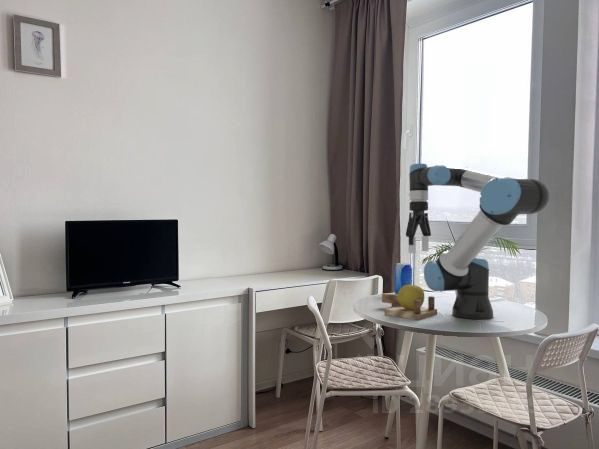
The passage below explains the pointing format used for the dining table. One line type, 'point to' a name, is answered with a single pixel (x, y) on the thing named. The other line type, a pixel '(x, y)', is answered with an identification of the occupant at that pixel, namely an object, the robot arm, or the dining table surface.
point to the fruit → (410, 296)
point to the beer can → (402, 276)
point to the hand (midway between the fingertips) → (418, 252)
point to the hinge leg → (390, 298)
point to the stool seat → (417, 312)
